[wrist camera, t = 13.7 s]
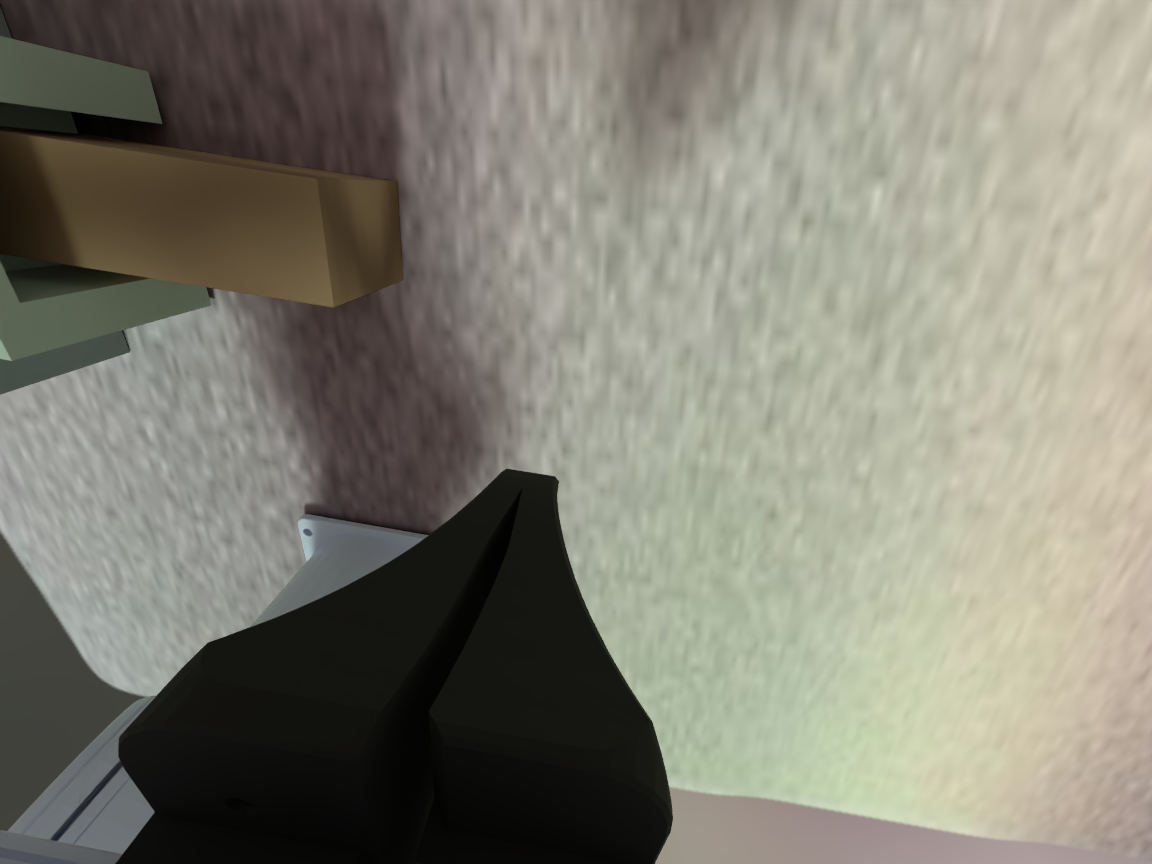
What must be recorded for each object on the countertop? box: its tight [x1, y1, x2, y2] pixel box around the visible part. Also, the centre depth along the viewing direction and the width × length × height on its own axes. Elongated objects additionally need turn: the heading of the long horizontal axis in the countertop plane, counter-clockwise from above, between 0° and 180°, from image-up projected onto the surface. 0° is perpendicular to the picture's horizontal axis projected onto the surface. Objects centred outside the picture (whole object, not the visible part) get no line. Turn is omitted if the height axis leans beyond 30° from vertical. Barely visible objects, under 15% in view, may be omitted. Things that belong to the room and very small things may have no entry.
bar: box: [0, 126, 403, 308], centre depth 15 cm, size 4×12×5 cm, turn 83°
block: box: [0, 36, 211, 361], centre depth 14 cm, size 8×5×7 cm, turn 173°
